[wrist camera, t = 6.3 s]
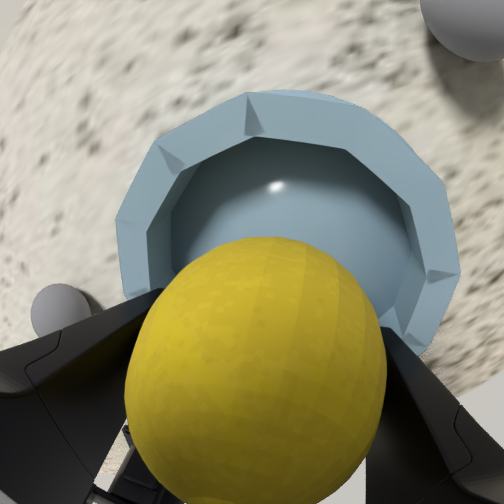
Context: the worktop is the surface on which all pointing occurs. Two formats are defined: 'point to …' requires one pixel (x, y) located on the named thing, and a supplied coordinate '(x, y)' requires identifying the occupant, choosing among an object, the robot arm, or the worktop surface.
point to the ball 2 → (467, 27)
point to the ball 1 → (58, 308)
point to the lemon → (257, 376)
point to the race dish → (297, 201)
